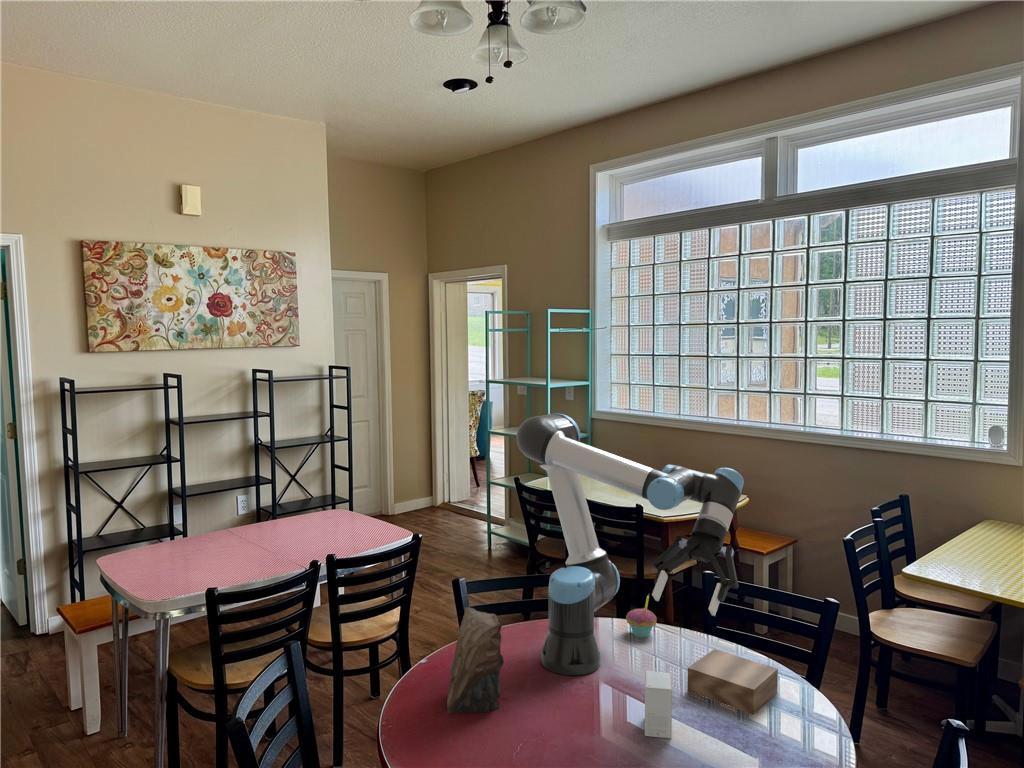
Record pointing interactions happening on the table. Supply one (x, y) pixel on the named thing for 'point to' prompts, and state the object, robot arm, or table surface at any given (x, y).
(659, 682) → the small box
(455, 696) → the owl
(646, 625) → the cupcake
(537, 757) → the table surface
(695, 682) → the walnut block
